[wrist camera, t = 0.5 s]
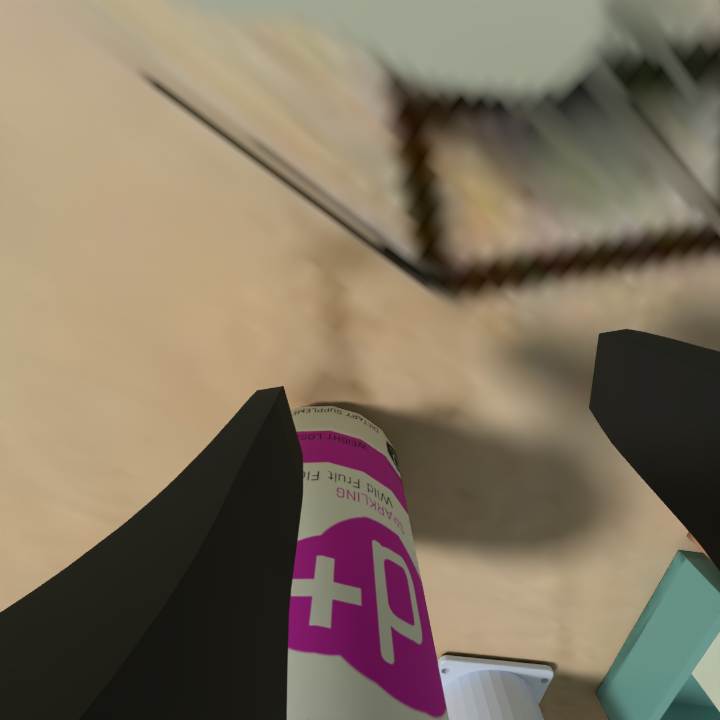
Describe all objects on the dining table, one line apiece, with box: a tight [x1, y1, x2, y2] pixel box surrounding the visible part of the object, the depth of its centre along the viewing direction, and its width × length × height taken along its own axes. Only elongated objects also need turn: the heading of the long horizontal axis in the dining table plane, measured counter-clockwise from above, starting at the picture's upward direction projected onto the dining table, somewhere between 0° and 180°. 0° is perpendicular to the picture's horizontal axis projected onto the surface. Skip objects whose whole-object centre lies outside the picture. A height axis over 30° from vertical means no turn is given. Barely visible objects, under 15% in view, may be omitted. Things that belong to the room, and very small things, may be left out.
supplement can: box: [287, 406, 449, 720], centre depth 16 cm, size 8×8×15 cm
